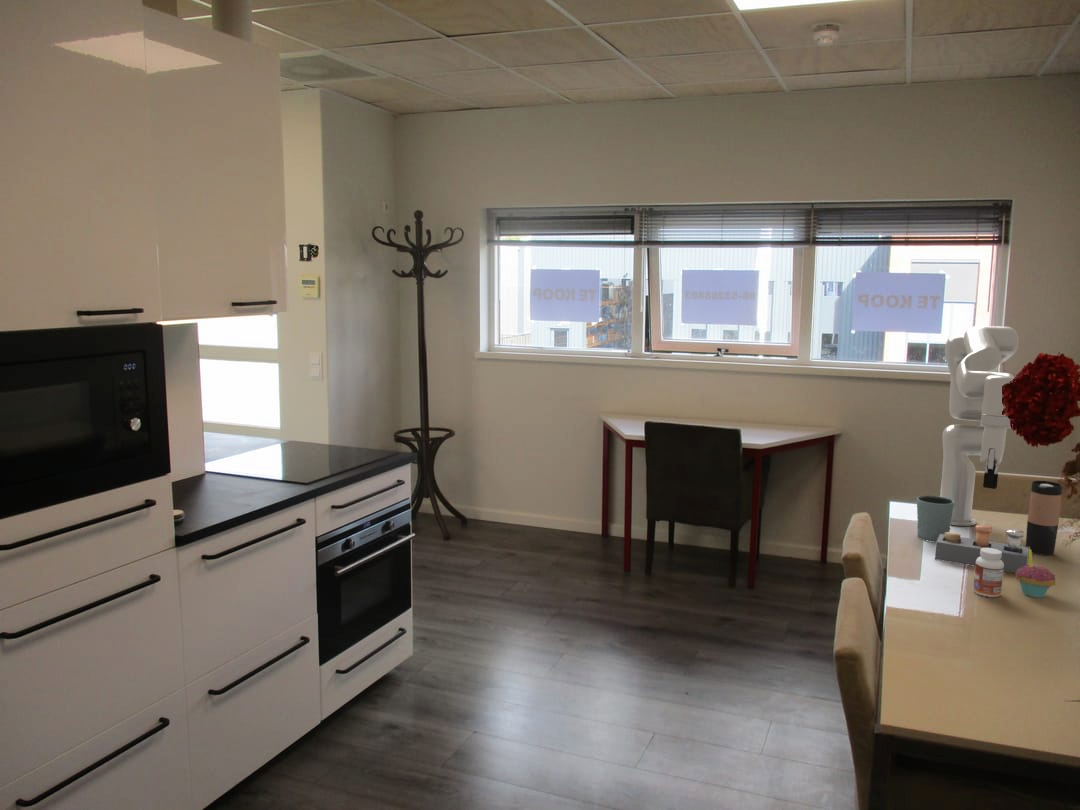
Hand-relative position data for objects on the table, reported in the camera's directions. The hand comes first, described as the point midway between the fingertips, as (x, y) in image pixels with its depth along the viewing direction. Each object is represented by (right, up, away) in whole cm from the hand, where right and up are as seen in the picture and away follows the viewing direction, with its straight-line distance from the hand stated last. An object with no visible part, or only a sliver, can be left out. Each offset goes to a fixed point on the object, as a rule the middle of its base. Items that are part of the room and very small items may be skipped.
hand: (989, 487), depth 228 cm
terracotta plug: (-1, -17, +3) cm, 17 cm away
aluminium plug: (+6, -18, -1) cm, 18 cm away
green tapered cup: (-4, -18, +25) cm, 31 cm away
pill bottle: (-11, -25, -19) cm, 33 cm away
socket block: (-1, -21, +4) cm, 21 cm away
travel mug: (+22, -20, +14) cm, 33 cm away
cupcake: (0, -25, -19) cm, 31 cm away
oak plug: (-7, -20, +7) cm, 22 cm away
